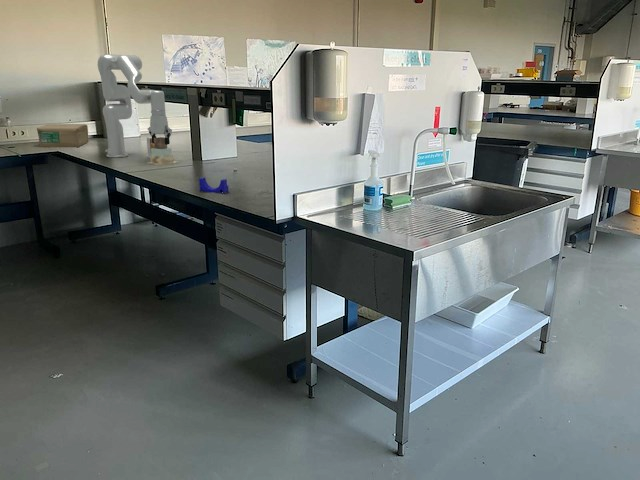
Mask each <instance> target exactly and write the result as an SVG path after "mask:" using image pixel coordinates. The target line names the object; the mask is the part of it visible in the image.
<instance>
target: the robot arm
mask: <svg viewBox="0 0 640 480" xmlns="http://www.w3.org/2000/svg"><path fill="white" fill-rule="evenodd" d="M142 68H143V62H142V60H141V58H140V57H139V56H138V55H135V54H134V55H133V54H132V55H130V54H115V53H113V54H111V53H109V54H108V53H106V54H103V55H101V56H99V58H98V59H97V70H98V72H99V76H100V81H101V88H102V95H103V99H104V100H105V101H107V102H119V103H108V104H105V105H104V106H103V107H102V114H103V117H104V122H105V129H106V130H105V131H106V139H107V147H108V148H106V149H105V153H107V154H106V157H108V158H125V157H128V156H129V153H127V152H126V148H125V147H126V145H125V137H124V134H125V133H124V127H123V125H122V123H121V122H120V120H128V119H130V118H131V117H132V115H133V106H132V99H133V100H134V102H135V103H137V104H139V105H141V104H142V105H143V104H144V105H145V104H150V108H151V109H150V114H151V116H150V121H149V126H148V127H147V131H148V134H149V137H152V143H154V138H156V137H157V135H164V138H165V145H167V146H168V145H170V138H171V136H172V133H173V129H172V128H170V127H169V121H168V117H167V115H166V100H165V93H164V91H163V90H155V89H139V88H138V86H137V84H138V83H139V82H140V81H141V80H142V78H143V74H142V72H141V71H140V70H141V69H142ZM112 70H118V71H121V72H122V74H123V76H124V77H125V78H126V80H127V81H128V82H127V86H126V85H123V84H118V81H117V77H116V74H115V73H114V72H113V71H112Z"/></svg>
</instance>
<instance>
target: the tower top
mask: <svg viewBox="0 0 640 480" xmlns="http://www.w3.org/2000/svg"><path fill="white" fill-rule="evenodd" d="M172 150H173V149H172V147H167V148H165V149H155V148H152V149H151V155H152V156H160V157H164V156H169V155H173V153H172Z"/></svg>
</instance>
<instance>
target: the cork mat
mask: <svg viewBox="0 0 640 480" xmlns="http://www.w3.org/2000/svg"><path fill="white" fill-rule="evenodd" d="M173 161H174V162H170V163H165V164H159V163H151V161H146V162H145V164H152V165H160V166H164V165H169V164H175V163H179V162H180V161H177V160H173Z"/></svg>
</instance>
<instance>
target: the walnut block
mask: <svg viewBox="0 0 640 480" xmlns="http://www.w3.org/2000/svg"><path fill="white" fill-rule="evenodd" d="M156 137H157V138H154V147H155V149H165V148H168V145H165V136H164V137H161V136H156Z"/></svg>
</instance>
